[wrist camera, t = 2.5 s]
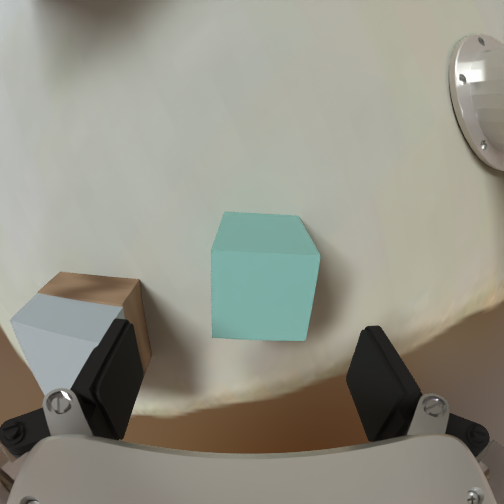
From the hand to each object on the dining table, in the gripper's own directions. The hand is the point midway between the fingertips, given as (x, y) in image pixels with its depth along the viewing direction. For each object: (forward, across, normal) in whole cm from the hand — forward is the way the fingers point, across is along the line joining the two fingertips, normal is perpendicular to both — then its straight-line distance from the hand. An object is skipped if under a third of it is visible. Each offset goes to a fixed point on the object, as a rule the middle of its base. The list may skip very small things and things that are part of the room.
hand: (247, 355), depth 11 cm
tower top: (+7, +12, +7) cm, 16 cm away
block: (+10, -1, -1) cm, 10 cm away
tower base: (+11, +12, +6) cm, 18 cm away
